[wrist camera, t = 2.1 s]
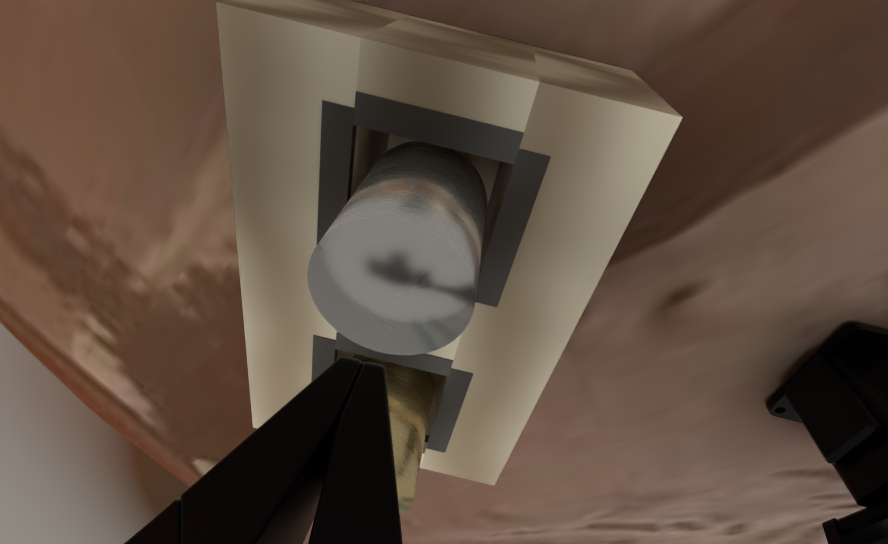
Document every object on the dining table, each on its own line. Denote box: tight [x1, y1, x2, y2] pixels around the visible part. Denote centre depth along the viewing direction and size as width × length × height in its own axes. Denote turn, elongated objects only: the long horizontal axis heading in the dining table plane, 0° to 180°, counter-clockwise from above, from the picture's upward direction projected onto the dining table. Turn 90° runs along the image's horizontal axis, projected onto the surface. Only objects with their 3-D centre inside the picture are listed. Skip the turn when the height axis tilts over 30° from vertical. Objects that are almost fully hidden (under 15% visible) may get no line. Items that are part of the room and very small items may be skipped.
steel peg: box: [307, 141, 487, 355], centre depth 13 cm, size 4×4×5 cm
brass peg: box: [353, 354, 435, 514], centre depth 18 cm, size 4×4×5 cm
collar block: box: [216, 0, 683, 485], centre depth 19 cm, size 12×18×6 cm, turn 169°
